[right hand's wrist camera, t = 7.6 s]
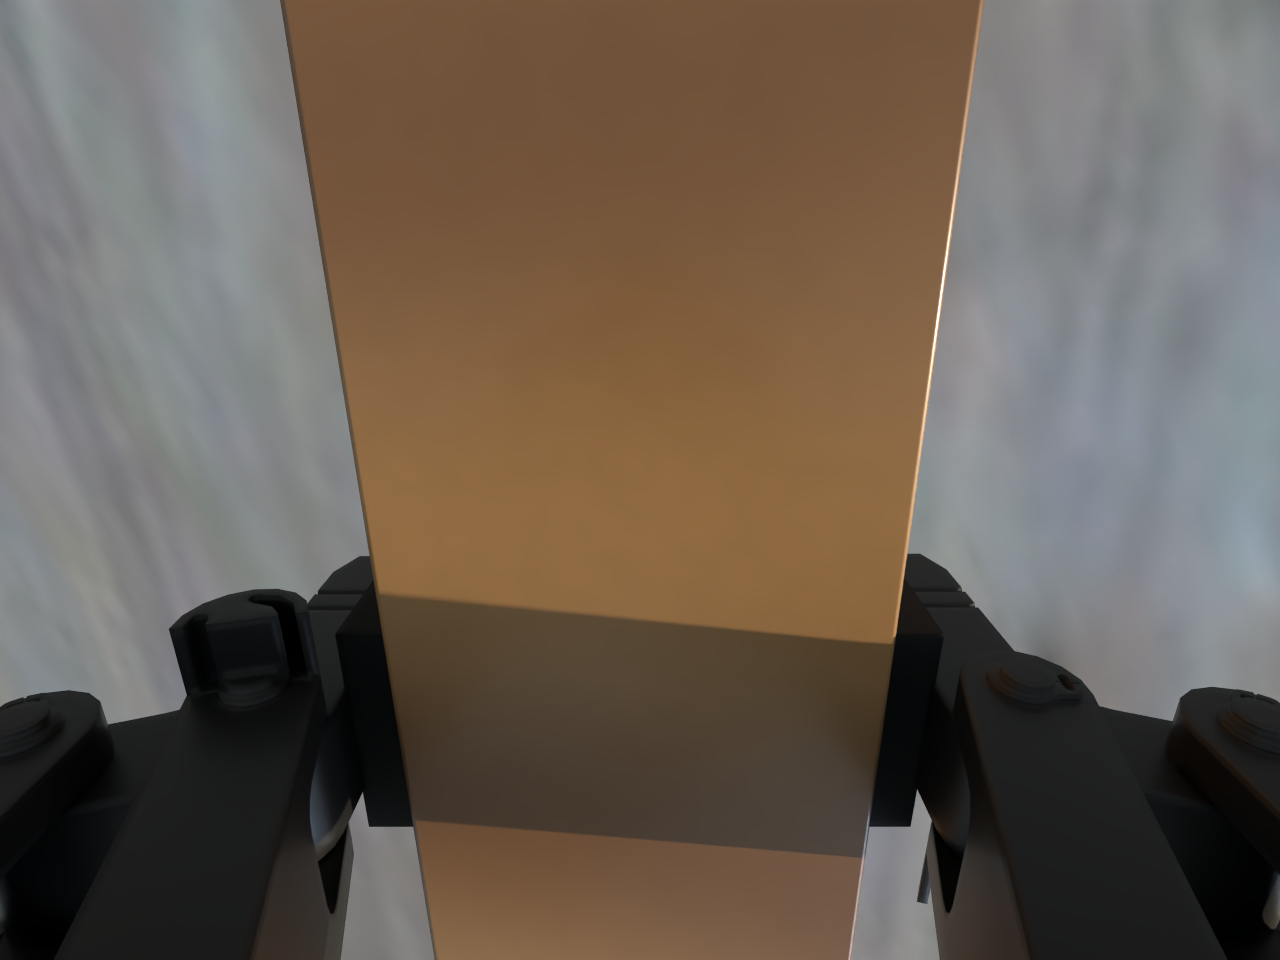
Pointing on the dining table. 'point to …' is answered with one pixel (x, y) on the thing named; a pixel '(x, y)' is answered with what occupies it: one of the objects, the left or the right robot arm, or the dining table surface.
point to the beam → (637, 438)
